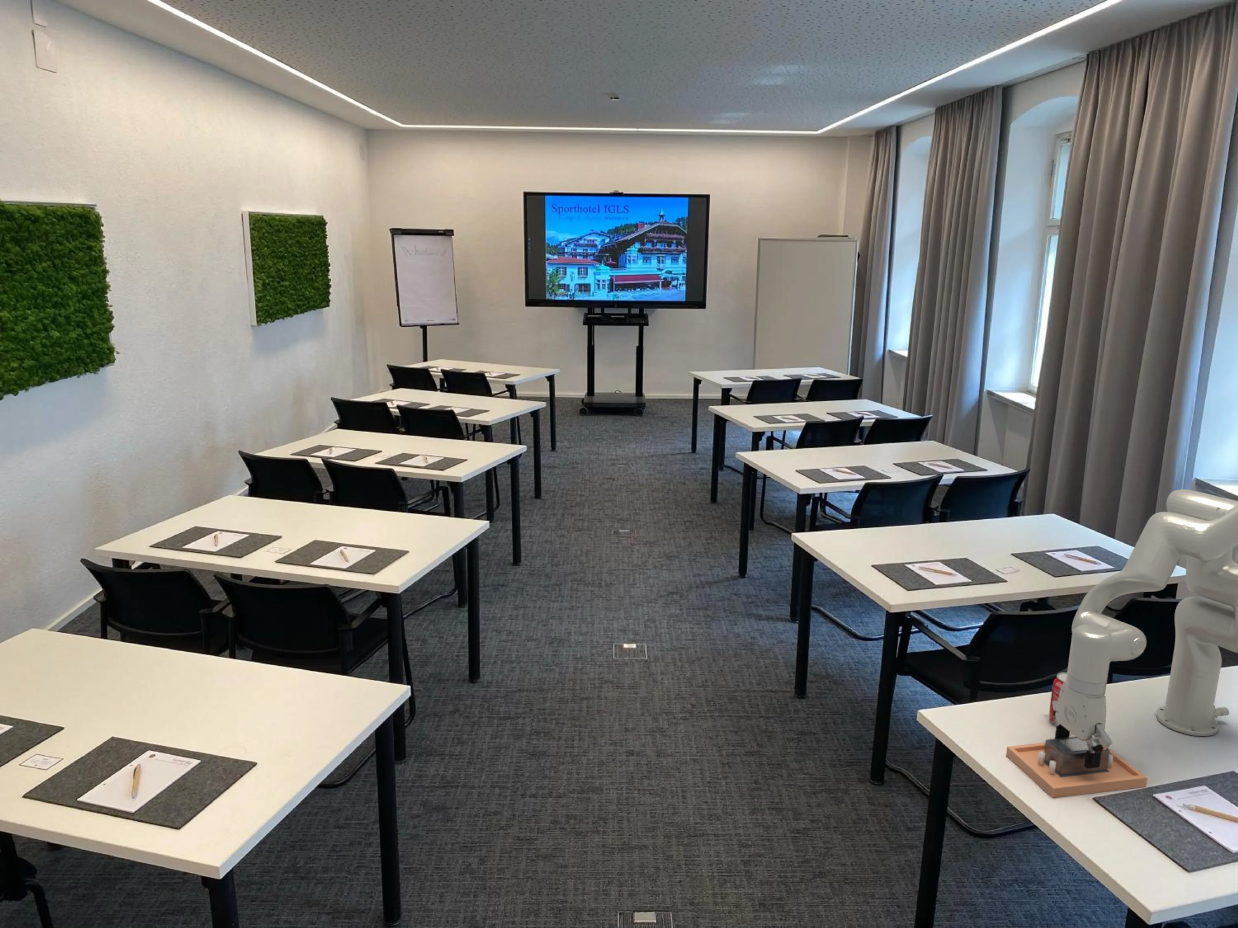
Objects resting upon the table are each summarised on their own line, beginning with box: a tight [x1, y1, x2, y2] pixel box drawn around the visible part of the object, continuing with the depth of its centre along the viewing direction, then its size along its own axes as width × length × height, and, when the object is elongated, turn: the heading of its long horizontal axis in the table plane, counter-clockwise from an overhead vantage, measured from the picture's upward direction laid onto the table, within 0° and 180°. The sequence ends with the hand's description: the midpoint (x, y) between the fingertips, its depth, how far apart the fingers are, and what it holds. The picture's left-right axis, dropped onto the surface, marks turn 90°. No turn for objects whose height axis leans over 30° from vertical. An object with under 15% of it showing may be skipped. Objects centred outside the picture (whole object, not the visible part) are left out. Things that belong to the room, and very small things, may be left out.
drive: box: [1044, 736, 1111, 776], centre depth 190 cm, size 11×6×5 cm, turn 100°
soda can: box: [1048, 671, 1067, 725], centre depth 209 cm, size 7×7×12 cm
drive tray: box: [1005, 742, 1148, 799], centre depth 191 cm, size 22×16×4 cm
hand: (1076, 754), depth 190 cm, fingers open, 9 cm apart
